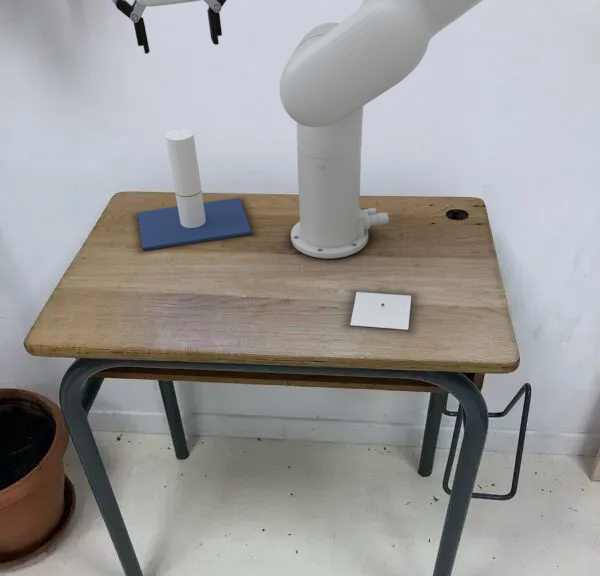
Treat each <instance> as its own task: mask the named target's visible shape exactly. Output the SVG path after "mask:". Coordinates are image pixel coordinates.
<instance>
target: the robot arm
mask: <svg viewBox="0 0 600 576" xmlns="http://www.w3.org/2000/svg"><path fill="white" fill-rule="evenodd" d="M199 1H200V2H201V0H134V1H133V2H132V4H130V3H129V2H128V1H127V0H111V2H112V3H113V4H114V5H115V7H116V9H117V10H118V11H120V13H122V14H124V15H125V16H126V17H127V18H128V19H129V20H130V21H131V22H132V23H133V27H134V33H135V37H136V42H137V47H143V53H144V54H145V55H147V54H149V53H150V52H151V50H150V45H149V40H148V35H147V30H146V29H147V28H146V24H145V20H144V17H142V15H143V14H144V12H145V9H146V8H147V7H161V6H168V5H178V4H185V3H194V2H199ZM203 2H204V3H205V4H207V6H208V7H207V8H208V9H207V10H206V12H207V18H208V27H209V33H210V40H211V42H212V44H213V45H215V46H217V45H219V44H220V42H219V37H222V35H223V31H222V22H221V13H220V12H221V11H222V8H223V6H224V4H225V3H226V2H227V0H203ZM481 2H483V0H363V1H362V2H361V3H360V4H361V5H360V6H359V7H358V9H357V10H355V11H354V12H353V13H352V14H350V15H349V16H347V18H345V19H343V20H342V21H341V22H340V23H339V22H326V23H322V24H320V25H316V26H315V27H314V28H312V29H311V30H309V31H308V32H307V33H306V34H305V35H304V36H303V38H302V39H301V40H300V41H299V44H298V45H297V46H296V48H295V49H294V51H293V53H292V55H290V57H289V59H288V61H287V62H286V64H285V65H284V68H283V70H282V73H281V75H280V81H279V97H280V98H279V99H280V101H281V104H282V107H283V109H284V110H285V112H286V114H287V115H288V117H290V119H292V120H293V121H294V122H296V155H297V159H296V160H297V180H298V181H297V182H298V183H297V184H298V186H297V187H298V208H299V209H298V211H299V221H297V223H295V224H294V225H293V227H292V228H291V231H290V242H291V244H292V246H293V247H294V248H295V249H296V250H297V251H299V252H300V253H302V254H303V255H306V256H309V257H312V258H317V259H339V258H344V257H348V256H352V255H354V254H356V253H358V252H359V251H361V250H362V249H363V248H364V247H365V246H366V245H367V244H368V242H369V229H370V228H371V227H374V226H375V227H376V226H379V227H380V226H385V225H388V224H389V220H390V219H389V214H388V212H386V211H385V212H378V213H377V209H376V207H369V208H366V209H362V208H361V207H360V206H361V205H360V202H361V201H360V200H361V198H360V197H361V196H360V195H361V170H362V169H361V166H362V145H363V144H362V142H363V117H364V106H365V105H367V104H368V103H370V102H372V101H373V100H375V99H377V98H378V97H380V96H381V95H383V94H384V93H386V92H387V91H389V90H390V89H392V88H393V87H395V86H396V85H398V84H399V83H401V82H402V81H403V80H405V79H406V78H407V77H408V76H409V75H411V74H412V73H413V72H414V70H415V69H416V68H417V67H418V66H419V65H420V63H421V61H422V60H423V58H424V56H425V55H426V52H427V50H428V47H429V44H430V41H431V40H432V38H433V37H435V36H436V35H437V34H438V33H439V32H442V30H444V29H445V28H446V27H448V26H450V25H451V24H452V23H453V22H455V21H457V20H458V19H459V18H461V17H462V16H463V15H465V14H466V13H467V12H469V11H470V10H471V9H473V8H474V7H476V6H477V5H478V4H479V3H481Z"/></svg>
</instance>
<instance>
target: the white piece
mask: <svg viewBox="0 0 600 576" xmlns="http://www.w3.org/2000/svg"><path fill="white" fill-rule="evenodd" d="M411 302H412V295H407V294H406V295H405V294H404V295H402V294H391V293H377V292H364V291H363V292H362V291H356V294H355V298H354V303H353V309H352V313H351V320H350V326H356V327H369V328H380V329H381V328H382V329H393V330H394V329H395V330H407V331H408V330H409V325H410V314H411V304H412V303H411Z"/></svg>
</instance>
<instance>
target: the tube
mask: <svg viewBox="0 0 600 576" xmlns="http://www.w3.org/2000/svg"><path fill="white" fill-rule="evenodd" d="M165 139H166V146H167V152H168V159H169V164H170V169H171V170H170V171H171V175H172V182H173V188H174V193H175V199H176V204H177V207H178V211H179V217H180V223H181V225H182V226H184V227H187V228H196V227H199V226H202V225H203V224H204V223H205V222H206V218H205V211H204V204H203V203H204V198H203V191H202V184H201V177H200V169H199V162H198V156H197V148H196V141H195V135H194V131H193V130H191V129H189V128H176V129H171V130H170V131H167V132H166V133H165Z"/></svg>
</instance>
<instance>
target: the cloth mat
mask: <svg viewBox="0 0 600 576" xmlns="http://www.w3.org/2000/svg"><path fill="white" fill-rule="evenodd" d="M203 204H204V211H205V218H206V222H205V223H204V224H203V225H202V226H199V227H196V228H187V227H184V226H182V225H181V223H180V217H179V211H178V206H173V207H166V208H160V209H152V210H146V211H145V210H144V211H139V212H137V219H138V225H139V233H140V240H141V248H142V251H150V250H159V249H164V248H170V247H171V248H172V247H177V246H183V245H190V244H197V243H204V242H210V241H217V240H224V239H229V238H237V237H243V236H251V235H252V234H253V232H252V228H251V226H250V223H249V221H248V217H247V215H246V211H245V209H244V207H243V204H242V201H241V198H240V197H235V198H230V199H228V198H227V199H222V200H216V201H209V202H208V201H207V202H203Z"/></svg>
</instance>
